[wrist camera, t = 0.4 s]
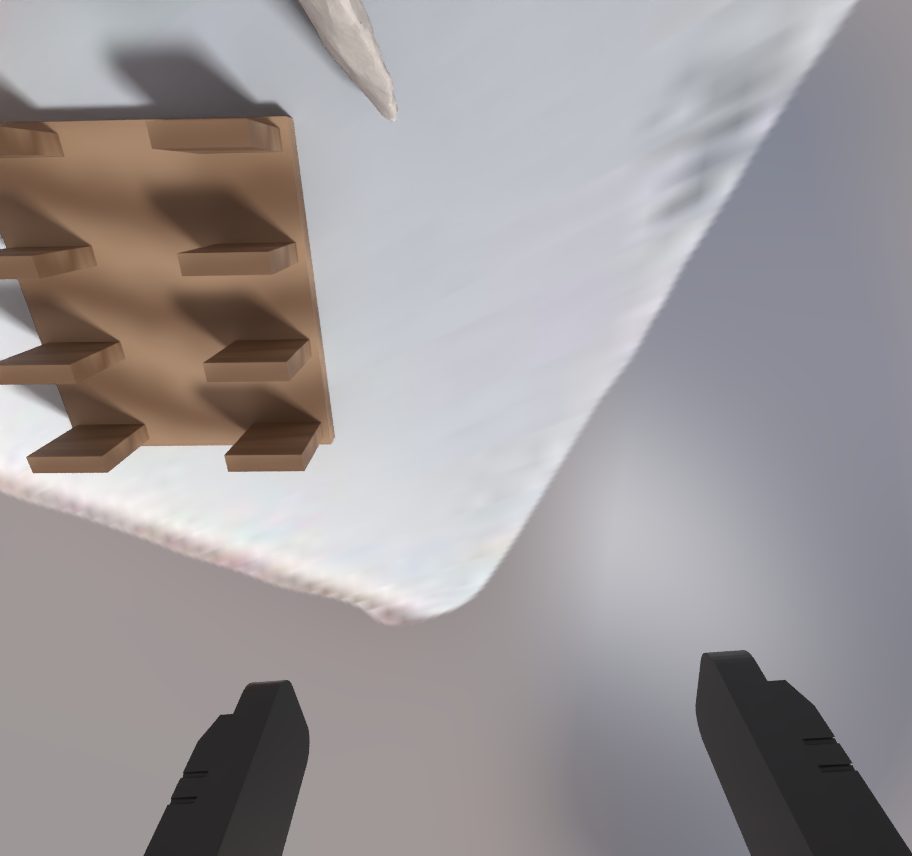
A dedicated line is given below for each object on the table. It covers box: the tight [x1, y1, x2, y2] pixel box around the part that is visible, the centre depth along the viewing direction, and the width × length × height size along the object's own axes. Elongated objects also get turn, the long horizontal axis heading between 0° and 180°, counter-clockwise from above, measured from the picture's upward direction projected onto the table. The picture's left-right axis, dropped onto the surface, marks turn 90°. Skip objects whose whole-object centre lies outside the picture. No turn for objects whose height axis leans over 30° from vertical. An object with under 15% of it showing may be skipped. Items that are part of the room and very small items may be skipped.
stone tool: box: [298, 0, 398, 122], centre depth 22 cm, size 9×3×15 cm, turn 39°
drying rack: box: [0, 116, 335, 473], centre depth 33 cm, size 21×19×6 cm
